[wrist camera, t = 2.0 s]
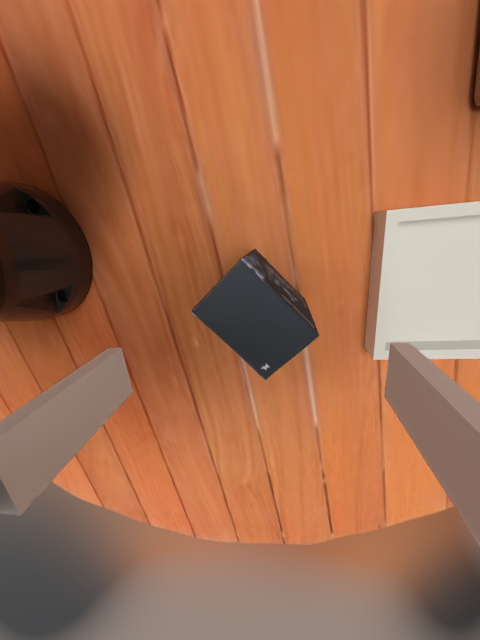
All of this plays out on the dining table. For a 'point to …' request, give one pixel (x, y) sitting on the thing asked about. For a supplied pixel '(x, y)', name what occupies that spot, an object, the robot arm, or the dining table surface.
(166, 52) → the dining table surface
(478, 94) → the wooden block
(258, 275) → the box
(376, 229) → the tray
